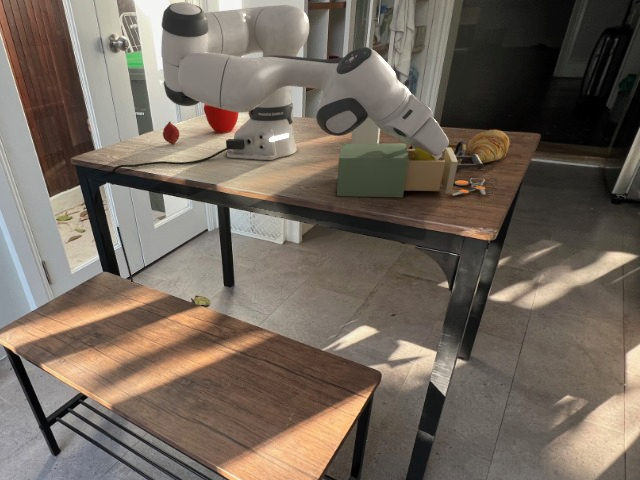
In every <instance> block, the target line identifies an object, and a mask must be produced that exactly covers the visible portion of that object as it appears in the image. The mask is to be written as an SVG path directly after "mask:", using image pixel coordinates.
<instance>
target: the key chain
mask: <svg viewBox="0 0 640 480" xmlns="http://www.w3.org/2000/svg"><path fill="white" fill-rule="evenodd" d="M472 180H477V181H481V182H475V183H474V182H472ZM485 181H486V179H484V178H477V177H476V178H475V177H471V178H469V181H468V180H462V179H459V180H454V184H455V186H456V185H457V186H461V187H465V186H466V187H467V186H469V185H470V187H471V188H472V189H459V190H458V191H457V192H454V193H451V196H453V197H455V196H458V195H461V194H469V192H473V191H476V190H478V191H479V192H480V194H481V195H482V196H486V195H487V193H486V186H483V185H484V183H485Z"/></svg>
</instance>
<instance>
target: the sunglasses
mask: <svg viewBox="0 0 640 480" xmlns="http://www.w3.org/2000/svg"><path fill="white" fill-rule="evenodd" d="M466 147H467V144H466V143H465V142H464V141H463V140H461V141H459V142H458V143H456V144H450V143H449V145H448V146H447V147H446V148H452V149H455V150H454V155H455V156H465V153H466ZM407 149H414V148H413V147H412V146H411V145H409V147H408V148H407ZM439 160H442V161H443V160H444V157H440V158H439ZM457 161H458V164H462V161H463V159H457ZM458 169H459V167H457V168H456V172H457V171H458Z"/></svg>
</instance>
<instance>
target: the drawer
mask: <svg viewBox="0 0 640 480" xmlns="http://www.w3.org/2000/svg"><path fill="white" fill-rule="evenodd" d="M414 152H415V149H414V148H412V149H408V148H407V153H408V165H407V172H406V179H405V186H404V191H409V192H411V191H414V192H415V191H416V192H419V191H420V192H440V190H441V184H442V187H443V190H444V193H445V195H446V194H449V195H452V194H453V187H454V184H455V178H456V173H457V171H456V168H457V167H458V168H475V169H477V170H482V169H483V168H484V163H482V162H481V160H480V159H479V157H478V155H477V154H473V155H472V156H471V155H464V156H455V155H454V153H455V151H454V150H453V148H446V149H445V150H444V154H443V155H444V156H443V158H444V160H443V161H442V160H439V159H438V160H414ZM457 159H462V160H471V161H472V163H460V164H458V161H457Z"/></svg>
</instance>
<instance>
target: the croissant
mask: <svg viewBox="0 0 640 480" xmlns="http://www.w3.org/2000/svg"><path fill="white" fill-rule="evenodd" d="M509 147H510V137H509V136H508V134H506V133H505V132H503V131H502V130H501V129H489V130H483V131H482V132H479V133H477V134H475V135H474V136H473V137H472V138H471V139H470V140H468V143H467V150H468V153H469V156H472V155H473V154H477V155H478V157H479V159H480V160H481V162H482V164H486V163H491V162H497V161H499V160H501V159H504V158H505V157H507V154H508V151H509Z"/></svg>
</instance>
